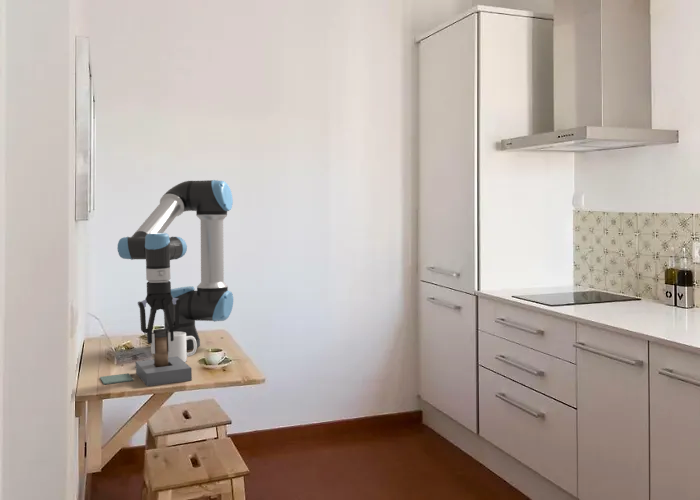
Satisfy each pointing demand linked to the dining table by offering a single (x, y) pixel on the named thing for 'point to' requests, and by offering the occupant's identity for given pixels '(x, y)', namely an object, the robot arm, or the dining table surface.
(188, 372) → the socket block
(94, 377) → the dining table surface
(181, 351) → the cup
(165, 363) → the plug
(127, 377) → the mat
